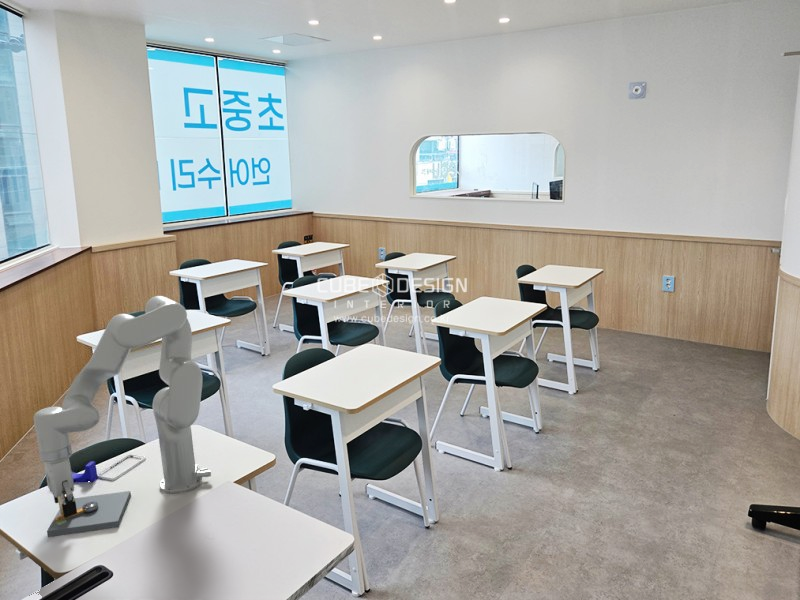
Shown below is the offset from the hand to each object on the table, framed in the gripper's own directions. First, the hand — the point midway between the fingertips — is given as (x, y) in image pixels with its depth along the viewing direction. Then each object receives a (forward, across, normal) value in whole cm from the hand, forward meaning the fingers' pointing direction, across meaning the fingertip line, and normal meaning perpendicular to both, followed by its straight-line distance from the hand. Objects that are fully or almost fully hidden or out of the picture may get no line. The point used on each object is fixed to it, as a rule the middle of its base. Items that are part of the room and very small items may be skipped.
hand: (66, 508), depth 167 cm
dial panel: (+5, 0, +6) cm, 8 cm away
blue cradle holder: (+6, -25, +8) cm, 27 cm away
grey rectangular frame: (+6, -23, +22) cm, 32 cm away
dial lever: (+3, 0, +3) cm, 4 cm away
